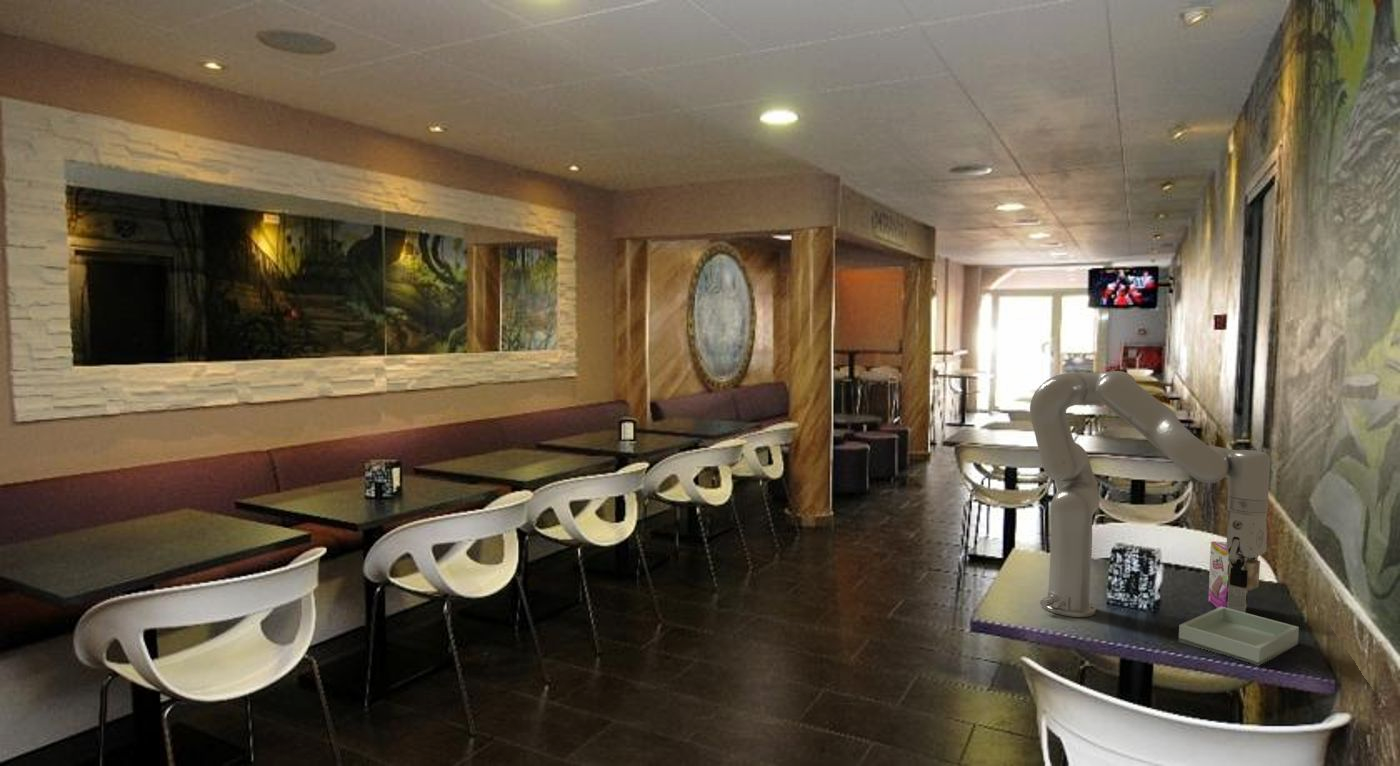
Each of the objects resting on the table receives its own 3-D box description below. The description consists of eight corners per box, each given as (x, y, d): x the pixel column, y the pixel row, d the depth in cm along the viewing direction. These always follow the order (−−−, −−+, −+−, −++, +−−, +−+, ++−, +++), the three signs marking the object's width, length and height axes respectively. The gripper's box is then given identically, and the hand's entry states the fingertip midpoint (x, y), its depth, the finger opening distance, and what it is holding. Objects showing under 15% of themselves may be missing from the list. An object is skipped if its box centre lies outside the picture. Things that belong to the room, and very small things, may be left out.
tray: (1258, 666, 170) (1259, 648, 170) (1178, 641, 183) (1179, 624, 183) (1297, 644, 183) (1298, 627, 182) (1220, 622, 196) (1221, 606, 195)
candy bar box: (1206, 601, 210) (1209, 540, 209) (1227, 603, 209) (1231, 542, 208) (1224, 616, 199) (1229, 552, 198) (1247, 618, 198) (1251, 553, 197)
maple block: (1250, 590, 178) (1251, 564, 178) (1227, 585, 182) (1229, 559, 182) (1258, 586, 181) (1260, 560, 181) (1236, 581, 185) (1237, 556, 184)
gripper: (1250, 513, 172) (1246, 595, 174) (1281, 503, 182) (1276, 581, 183) (1212, 506, 179) (1208, 586, 180) (1244, 497, 188) (1240, 573, 190)
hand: (1243, 583), depth 182 cm, fingers closed on maple block, 4 cm apart
